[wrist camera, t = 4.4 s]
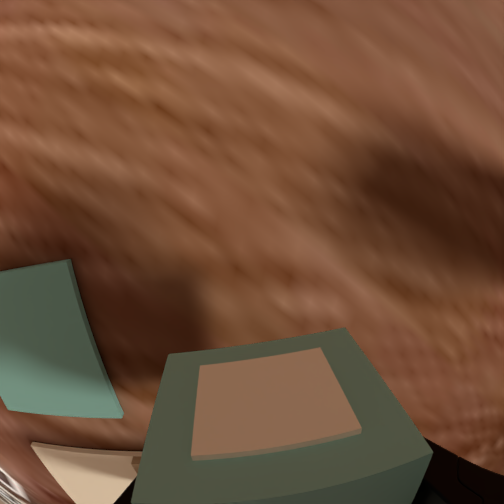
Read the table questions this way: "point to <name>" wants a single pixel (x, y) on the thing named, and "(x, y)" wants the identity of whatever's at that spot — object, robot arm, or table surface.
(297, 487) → the cube
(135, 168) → the table surface
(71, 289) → the teal coaster
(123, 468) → the ivory coaster
